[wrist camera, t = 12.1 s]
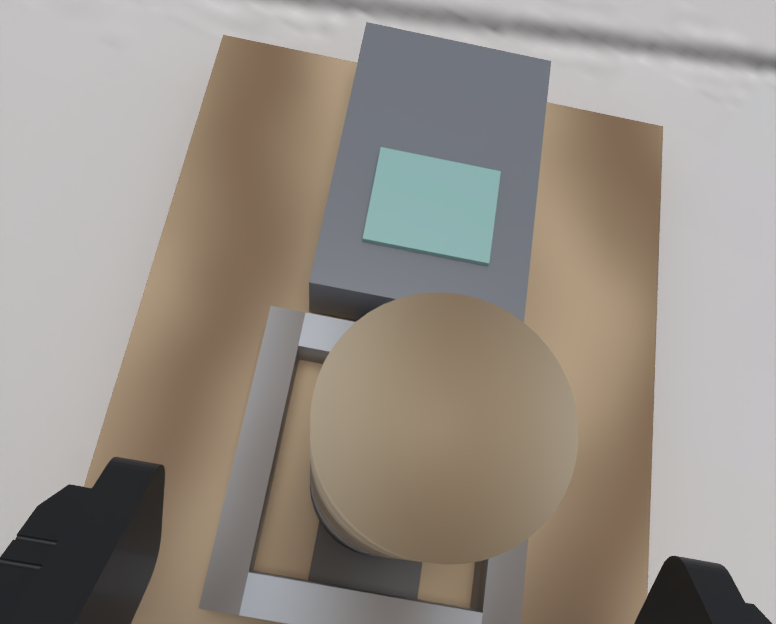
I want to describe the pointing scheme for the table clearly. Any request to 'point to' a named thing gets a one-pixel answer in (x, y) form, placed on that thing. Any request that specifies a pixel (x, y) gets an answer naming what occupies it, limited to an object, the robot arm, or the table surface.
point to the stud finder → (432, 176)
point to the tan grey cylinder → (440, 432)
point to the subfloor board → (321, 332)
